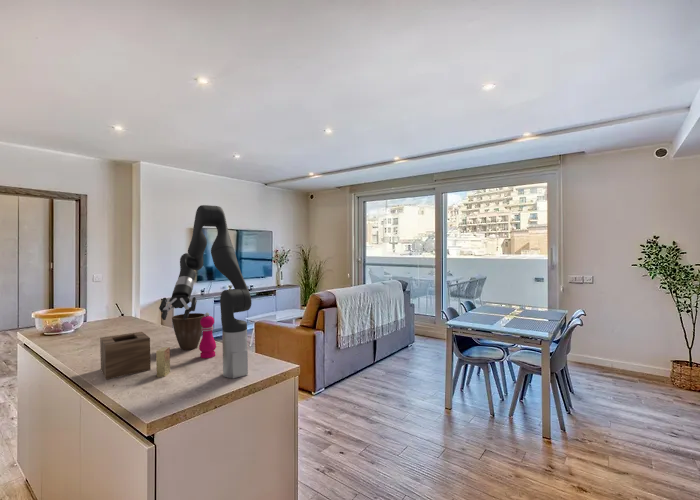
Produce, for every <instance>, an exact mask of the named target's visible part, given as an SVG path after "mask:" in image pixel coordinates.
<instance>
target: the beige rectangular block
mask: <svg viewBox="0 0 700 500" xmlns="http://www.w3.org/2000/svg"><path fill="white" fill-rule="evenodd" d="M170 349H171V348H170V346H169V347H168V346H167V347H160V348H159V349H157V350H156V351H155V352H156V353H155V354H156V358H155V359H156V362H155V364H156V378H164V377H166V376H168V375H169V374H170V373H171V353H170Z"/></svg>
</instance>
